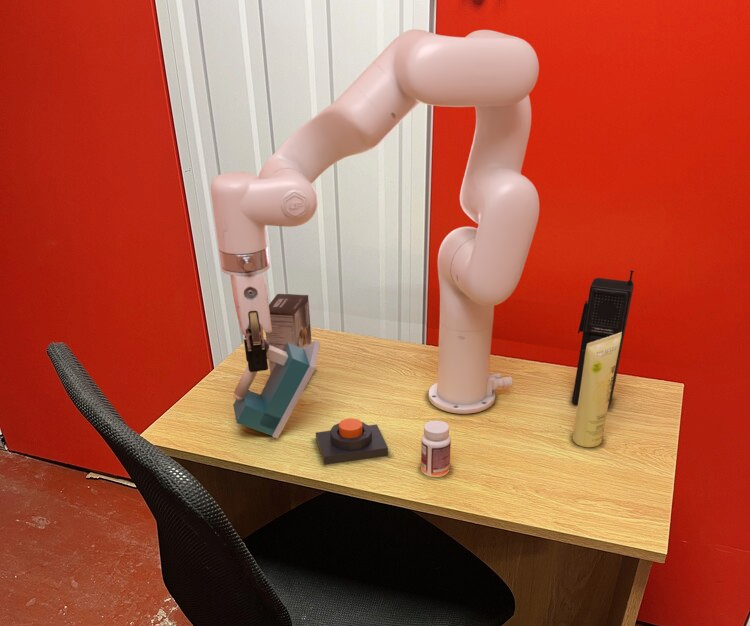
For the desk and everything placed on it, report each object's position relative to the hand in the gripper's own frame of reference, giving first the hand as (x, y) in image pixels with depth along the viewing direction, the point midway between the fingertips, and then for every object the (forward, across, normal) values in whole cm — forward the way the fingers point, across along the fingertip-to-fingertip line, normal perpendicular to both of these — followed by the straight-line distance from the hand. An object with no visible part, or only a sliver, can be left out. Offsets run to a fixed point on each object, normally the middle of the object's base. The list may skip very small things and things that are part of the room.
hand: (257, 364), depth 132 cm
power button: (+10, -10, -14) cm, 20 cm away
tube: (+13, -18, -54) cm, 58 cm away
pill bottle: (+13, -20, -26) cm, 35 cm away
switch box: (+13, -10, -14) cm, 21 cm away
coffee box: (+13, +18, -8) cm, 24 cm away
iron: (+5, 0, -6) cm, 8 cm away
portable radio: (+13, -5, -61) cm, 62 cm away
